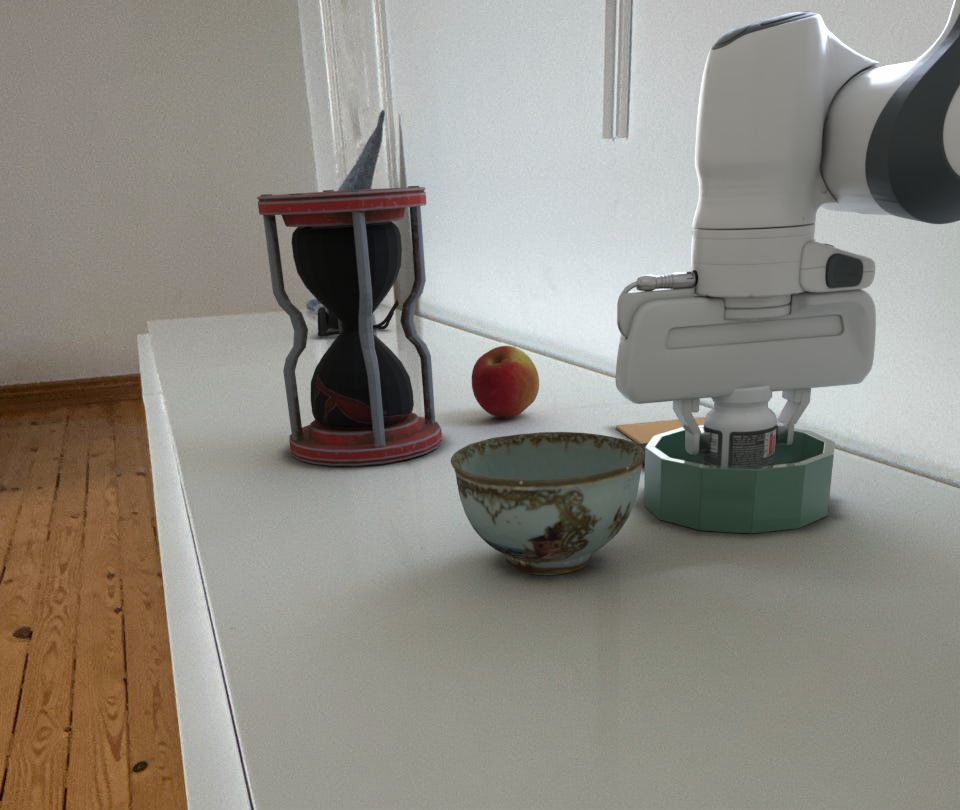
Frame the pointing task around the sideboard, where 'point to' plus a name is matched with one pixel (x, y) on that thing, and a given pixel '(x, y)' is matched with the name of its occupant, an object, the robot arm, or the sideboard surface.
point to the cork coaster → (651, 429)
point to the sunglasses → (331, 322)
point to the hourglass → (353, 324)
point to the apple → (505, 381)
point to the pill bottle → (741, 429)
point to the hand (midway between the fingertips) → (739, 448)
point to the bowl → (548, 495)
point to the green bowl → (739, 486)
